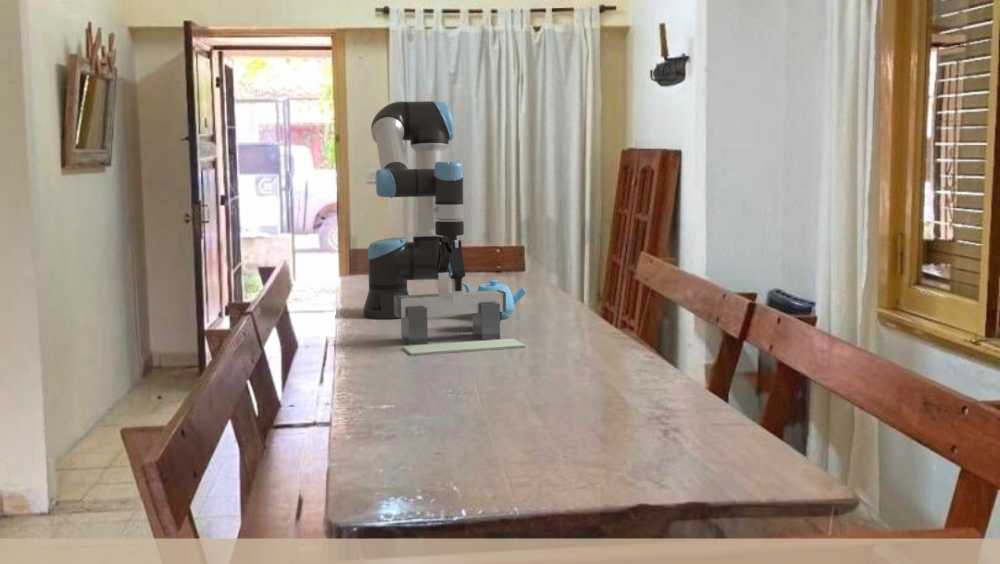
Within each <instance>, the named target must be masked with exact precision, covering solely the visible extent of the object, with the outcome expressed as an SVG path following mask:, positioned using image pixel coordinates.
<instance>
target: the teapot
mask: <svg viewBox="0 0 1000 564" xmlns="http://www.w3.org/2000/svg"><path fill="white" fill-rule="evenodd" d="M498 282H499V281H498V280H497V279H491V280H489V283H483V284H480V285H479V286H478V288H477V290H476V292H479V291H497V290H502V291H504V292H506V311H504V312H502V314H501V320H509V319H508V316H509V315H512V314H513V311H514V309H515V305H516V304H517V303H518V302H519V301H520V300H521V299H522V298H523V297H524V296H525V295H526V294H527V293H528V291H526V290H525V289H524V288H523V287H520V289H519V290H518V291H517V292H516V293H515V295H514V296H513V294H512V292H511V289H510V287H509V285H507V284H505V283H498ZM463 287H465V291H466V292H472V291H471V286H470V285H469V284H468V283H466V282H465V283H464V282H463Z"/></svg>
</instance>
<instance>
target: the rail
mask: <svg viewBox="0 0 1000 564" xmlns="http://www.w3.org/2000/svg"><path fill="white" fill-rule="evenodd" d="M493 303H499V304H500V312H504V311H506V292H504V291H502V290H497V291H480V292H477V291H471V292H465V291H463V303H457V304H452V292H449V293H442V294H439V293H430V294H429V293H426V294H409V295H404V296H397V295H394V315H395V316H397V317H398V318H397V319H401V318H403V317H408V308H423V307H426V308H427V317H432V316H433V317H435V316H448V315H450V316H451V315H464V314H466V315H467V314H468V315H469V314H472V313H481V304H493Z"/></svg>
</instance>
